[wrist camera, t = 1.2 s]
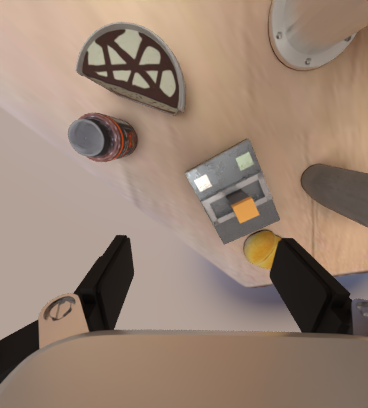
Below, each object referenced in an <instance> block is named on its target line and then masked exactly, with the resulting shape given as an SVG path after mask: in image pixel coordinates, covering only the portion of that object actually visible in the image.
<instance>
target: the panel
mask: <svg viewBox="0 0 368 408" xmlns="http://www.w3.org/2000/svg"><path fill="white" fill-rule="evenodd" d="M185 174H186V176H187V178H188V180H189V182H190V183H191V185H192V187H193V189H194V191H195V192H196V194H197V196H198V198H199V200H200V202H201V203H202V205H203V207H204V209H205V211H206V213H207V214H208V216H209V218H210V220H211V222H212V223H213V225H214V227H215V229H216V231H217V233H218V234H219V236H220V238H221V240H222V242H223V244H227V243H229V242H231V241H233V240H236V239H238V238H240V237H243V236H245V235H247V234H249V233H252V232H254V231H256V230H258V229H261V228H263V227H265V226H267V225H270V224H272V223H274V222H277V221H279V220H280V219H279V216H278V213H277V211H276V208H275V206H274V203H273V200H272V199H273V197H272V195H271V194H270V191H269V189H268V186H267V183H266V181H265V178H264V174H263V171H261V169H260V166H259V164H258V161H257V158H256V156H255V153H254V150H253V148H252V145H251V143H250V140H249V139H245V140H243V141H241V142H240V143H238V144H236V145H234V146H232V147H231V148H229V149H227V150H225V151H223V152H221V153H220V154H218V155H216V156H214V157H212V158H210V159H209V160H207V161H205V162H203V163H201V164H199V165H198V166H196V167H194V168H192V169H190V170H188V171H187V172H185ZM240 188H241V189H242V190H243V191H244V192H245V193H246V194H247V195H248V196H249V197H250V196H251V197H252V199H253V201H254V203H255V206H256V208H257V210H258V213H259V215H258V216H256V217H254V218H252V219H249V220H247V221H245V222H243V223H241V224H240V222H239V221H238V219H237V217H236V215H235V214H234V212H233V211H232V209H231V207H230V205H229V203H228V201H227V199H226V197H225V196H226V195H228V194H230V193H232V192H234V191H236V190H238V189H240Z"/></svg>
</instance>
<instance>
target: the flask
mask: <svg viewBox="0 0 368 408" xmlns="http://www.w3.org/2000/svg"><path fill="white" fill-rule="evenodd" d="M301 183H302V186H303V188H304V190H305V191H306V192H307V193H308V194H309V195H310V196H311V197H312V198H313V199H314V200H316V201H317V202H319V203H320V204H322V205H323V206H325V207H327V208H329V209H331V210H333V211H335V212H337V213H339V214H341V215H343V216H345V217H347V218H350V219H352V220H354V221H356V222H358V223H360V224H362V225H364V226H366V227H368V173H363V172H358V171H353V170H348V169H342V168H337V167H332V166H327V165H322V164H316V165H313V166H311V167H309V168H308V169H307V170H306V171H305V172H304V174H303V176H302V179H301Z"/></svg>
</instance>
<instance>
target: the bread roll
mask: <svg viewBox="0 0 368 408" xmlns="http://www.w3.org/2000/svg"><path fill="white" fill-rule="evenodd" d="M281 239H282V238H280V237H278V236H276V235H274V234H273V233H272V232H270V231H267V230H265V231H261V232H258V233H256V234H253V235H251V236H250V237H249V238H248V239H247V240H246V242H245V245H244V254H245V256H246V258H247V260H248V261H249V262H250V263H252V264H255V265H257V266H259V267H261V268H266V269H271V267H272V263H273V259H274V256H275V252H276V248H277V244H278V241H280V240H281Z"/></svg>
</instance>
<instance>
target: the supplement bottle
mask: <svg viewBox="0 0 368 408" xmlns="http://www.w3.org/2000/svg"><path fill="white" fill-rule="evenodd" d="M68 137H69V141H70V144H71V145H72V147H73V148H74V149H75V150H76V151H77V152H78V153H80V154H81V155H84V156H86V157H88V158H89V159H91V160H93V161H97V162H107V161H111V160H114V159H118V158H121V157H125V156H127V155H129V154H131V153H132V152H133V151H134V149H135V147H136V144H137V137H136V134H135V131H134V129H133V128H132V127H131V126H130V125H129V124H128V123H126V122H125V121H123V120H120V119H116V118H113V117H110V116H107V115H103V114H100V113H88V114H85V115H83V116H82V117H80V118H79V119H78V120H76V121H74V122H73V123H72V124H71V125H70V127H69V130H68Z"/></svg>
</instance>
